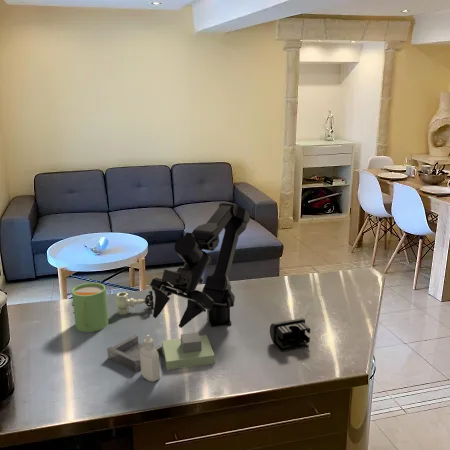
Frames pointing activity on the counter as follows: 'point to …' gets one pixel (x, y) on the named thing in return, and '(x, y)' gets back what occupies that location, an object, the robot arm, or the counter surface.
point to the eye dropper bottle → (149, 360)
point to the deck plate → (186, 358)
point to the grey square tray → (129, 353)
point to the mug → (90, 307)
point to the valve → (131, 302)
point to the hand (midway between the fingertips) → (166, 322)
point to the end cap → (290, 334)
